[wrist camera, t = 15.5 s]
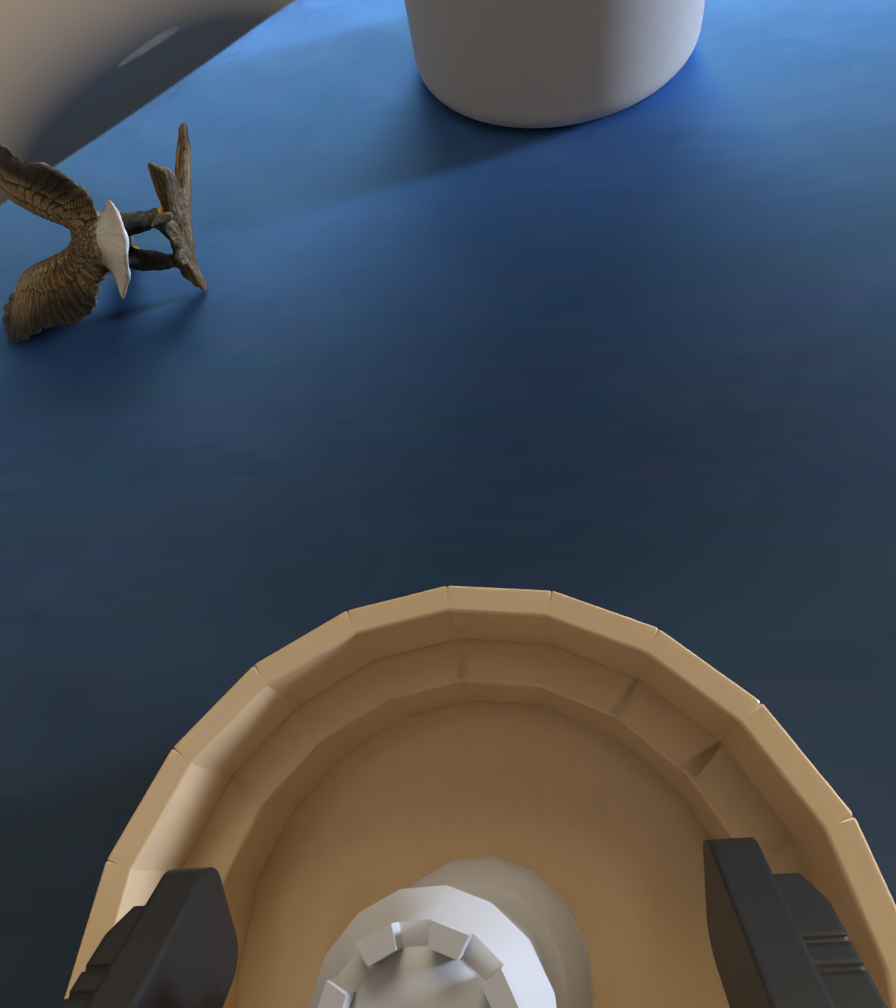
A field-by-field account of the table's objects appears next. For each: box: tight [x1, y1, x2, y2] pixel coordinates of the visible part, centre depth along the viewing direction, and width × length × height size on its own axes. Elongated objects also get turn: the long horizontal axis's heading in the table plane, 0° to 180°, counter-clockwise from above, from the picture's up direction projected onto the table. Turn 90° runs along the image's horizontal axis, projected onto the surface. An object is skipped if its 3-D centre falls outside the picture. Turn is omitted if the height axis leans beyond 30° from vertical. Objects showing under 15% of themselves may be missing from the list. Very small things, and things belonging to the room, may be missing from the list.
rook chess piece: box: [307, 857, 594, 1008], centre depth 11 cm, size 4×4×8 cm
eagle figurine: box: [0, 123, 207, 342], centre depth 26 cm, size 8×7×9 cm
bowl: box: [64, 586, 896, 1008], centre depth 13 cm, size 14×14×4 cm
